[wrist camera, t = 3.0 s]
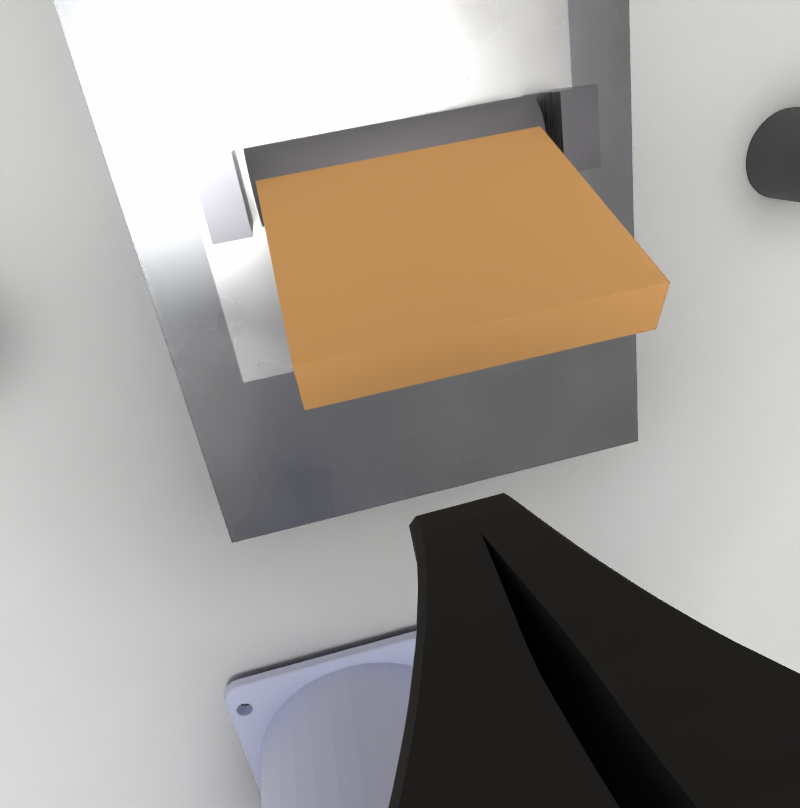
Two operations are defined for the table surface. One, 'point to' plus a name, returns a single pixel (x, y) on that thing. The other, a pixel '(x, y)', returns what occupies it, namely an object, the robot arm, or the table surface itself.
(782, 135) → the post
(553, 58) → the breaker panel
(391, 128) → the breaker paddle
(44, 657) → the table surface
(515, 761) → the robot arm
